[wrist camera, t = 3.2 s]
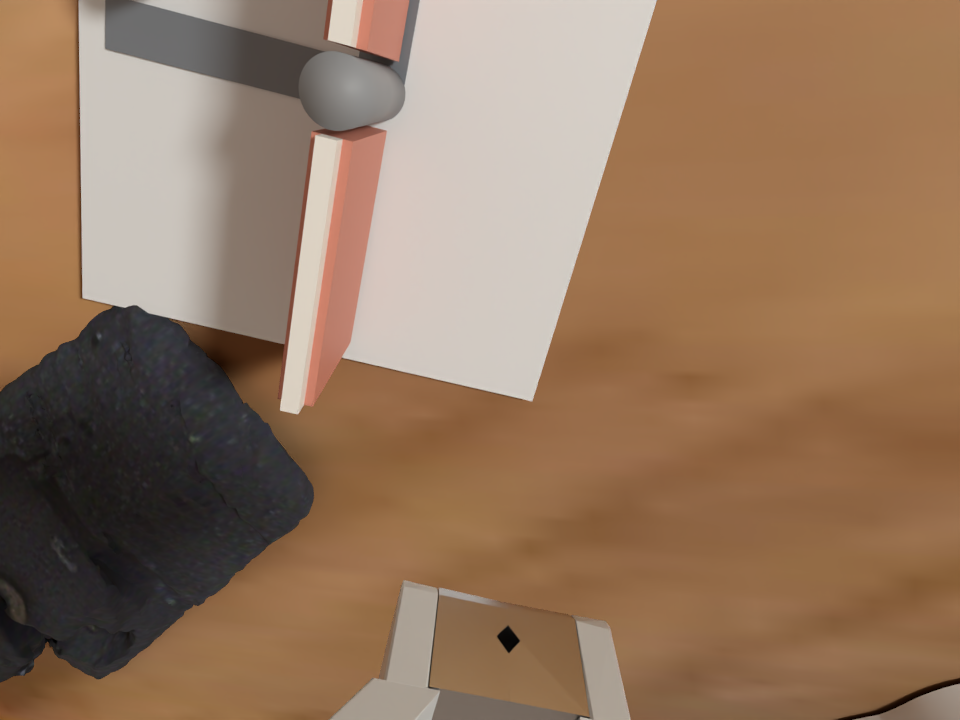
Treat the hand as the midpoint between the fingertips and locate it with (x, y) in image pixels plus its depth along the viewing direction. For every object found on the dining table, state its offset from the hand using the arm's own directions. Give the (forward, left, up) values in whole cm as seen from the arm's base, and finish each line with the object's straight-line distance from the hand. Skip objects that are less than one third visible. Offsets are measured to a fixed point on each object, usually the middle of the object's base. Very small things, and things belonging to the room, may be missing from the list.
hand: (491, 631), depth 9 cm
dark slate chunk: (-17, +16, -20) cm, 30 cm away
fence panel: (0, +6, -18) cm, 19 cm away
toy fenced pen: (+5, +7, -19) cm, 21 cm away
